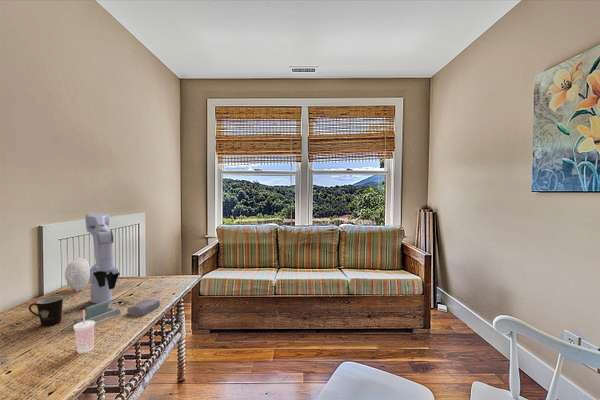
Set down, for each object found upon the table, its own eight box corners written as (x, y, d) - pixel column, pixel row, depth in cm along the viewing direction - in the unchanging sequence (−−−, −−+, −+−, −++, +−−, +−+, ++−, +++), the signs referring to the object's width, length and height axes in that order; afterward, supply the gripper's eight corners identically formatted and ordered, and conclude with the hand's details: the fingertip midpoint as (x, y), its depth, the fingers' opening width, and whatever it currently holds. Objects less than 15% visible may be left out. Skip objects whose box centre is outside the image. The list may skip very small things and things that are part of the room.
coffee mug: (69, 320, 131) (68, 297, 131) (46, 329, 123) (45, 304, 123) (50, 317, 135) (49, 294, 134) (27, 325, 127) (26, 301, 126)
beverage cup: (91, 353, 105) (89, 312, 104) (71, 355, 104) (68, 314, 103) (99, 344, 111) (97, 305, 110) (80, 346, 110) (77, 307, 109)
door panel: (86, 322, 127) (85, 307, 127) (106, 314, 135) (105, 301, 134) (89, 323, 126) (88, 308, 126) (109, 315, 134) (108, 301, 133)
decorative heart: (71, 287, 175) (69, 257, 174) (93, 284, 180) (92, 255, 179) (62, 297, 159) (60, 264, 158) (87, 294, 163) (85, 261, 162)
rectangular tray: (73, 326, 126) (73, 319, 125) (111, 312, 139) (110, 306, 139) (83, 329, 122) (83, 322, 122) (120, 315, 136) (120, 309, 135)
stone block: (125, 319, 136) (145, 316, 134) (123, 308, 136) (143, 305, 134) (143, 309, 147) (162, 306, 146) (142, 299, 148) (160, 296, 146)
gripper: (86, 258, 140) (88, 288, 141) (105, 261, 133) (107, 292, 134) (103, 255, 146) (104, 283, 147) (121, 258, 140) (123, 287, 140)
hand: (106, 287), depth 141 cm, fingers open, 7 cm apart
